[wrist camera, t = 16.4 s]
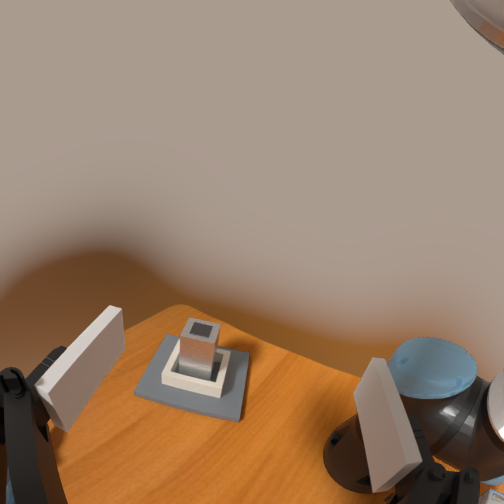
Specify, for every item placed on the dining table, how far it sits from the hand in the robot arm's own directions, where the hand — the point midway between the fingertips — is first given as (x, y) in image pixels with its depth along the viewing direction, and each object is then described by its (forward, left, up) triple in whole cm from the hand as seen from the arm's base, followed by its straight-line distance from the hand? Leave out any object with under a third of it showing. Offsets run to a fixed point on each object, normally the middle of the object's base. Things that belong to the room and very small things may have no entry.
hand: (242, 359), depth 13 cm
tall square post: (-7, -27, -29) cm, 40 cm away
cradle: (-7, -27, -30) cm, 41 cm away
